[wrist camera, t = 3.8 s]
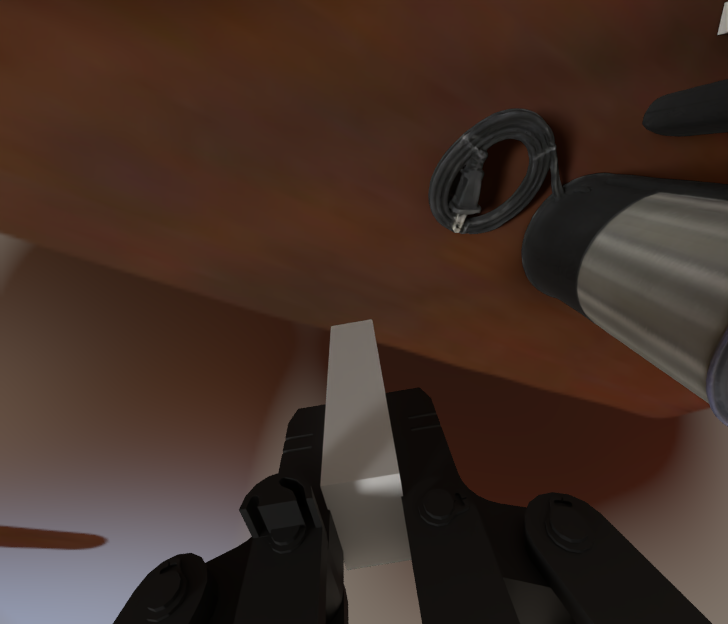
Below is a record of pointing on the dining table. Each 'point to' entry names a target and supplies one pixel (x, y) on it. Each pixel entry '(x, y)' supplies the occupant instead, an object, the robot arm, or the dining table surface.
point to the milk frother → (617, 238)
